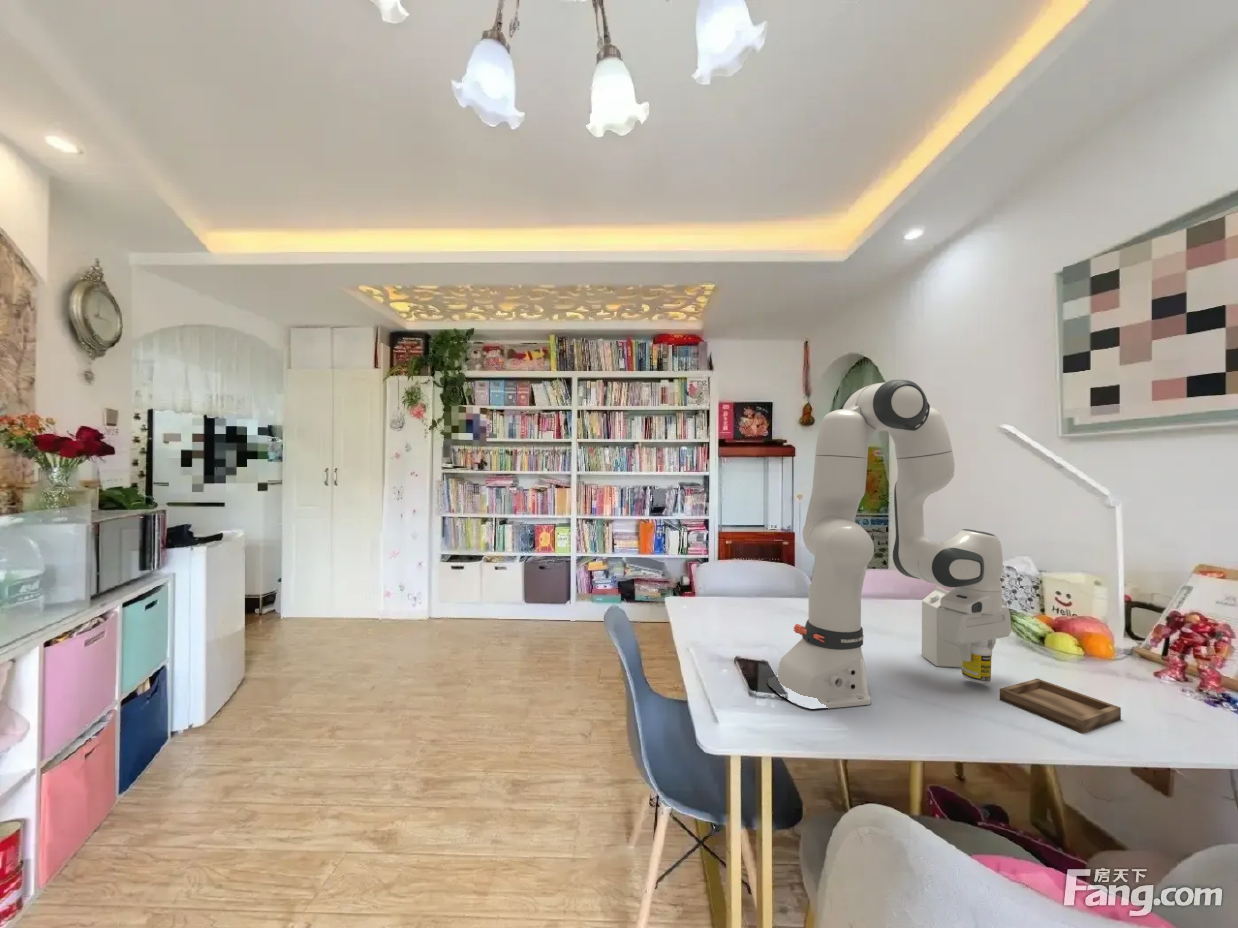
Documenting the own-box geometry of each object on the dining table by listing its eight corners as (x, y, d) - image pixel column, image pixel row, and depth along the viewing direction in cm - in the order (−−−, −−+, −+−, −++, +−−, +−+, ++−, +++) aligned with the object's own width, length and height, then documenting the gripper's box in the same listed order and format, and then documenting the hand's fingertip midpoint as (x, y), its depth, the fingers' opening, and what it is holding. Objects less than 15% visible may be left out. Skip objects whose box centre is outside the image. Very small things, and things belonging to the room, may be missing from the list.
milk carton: (949, 657, 126) (949, 586, 126) (966, 668, 119) (966, 593, 119) (921, 655, 126) (921, 585, 127) (936, 666, 119) (936, 592, 119)
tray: (1082, 733, 89) (1082, 720, 89) (999, 699, 102) (999, 688, 102) (1120, 719, 95) (1120, 707, 95) (1037, 688, 108) (1037, 678, 108)
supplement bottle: (983, 686, 106) (984, 642, 106) (957, 676, 110) (957, 634, 110) (995, 681, 108) (996, 638, 108) (969, 672, 113) (969, 631, 113)
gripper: (990, 592, 116) (989, 648, 116) (935, 599, 108) (934, 659, 108) (1020, 599, 110) (1019, 658, 110) (964, 607, 103) (963, 670, 102)
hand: (976, 658), depth 109 cm, fingers closed on supplement bottle, 5 cm apart
